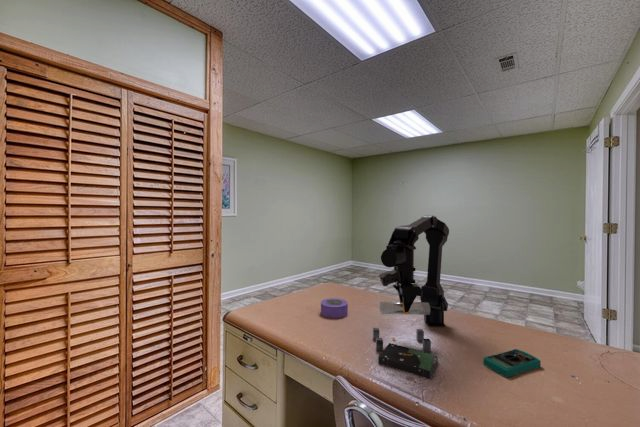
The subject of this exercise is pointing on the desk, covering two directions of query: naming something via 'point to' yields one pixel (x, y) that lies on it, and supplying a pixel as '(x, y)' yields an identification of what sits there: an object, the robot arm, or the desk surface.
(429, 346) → the collar stand
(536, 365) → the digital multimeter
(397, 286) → the robot arm
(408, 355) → the disk drive
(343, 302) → the tape roll
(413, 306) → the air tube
